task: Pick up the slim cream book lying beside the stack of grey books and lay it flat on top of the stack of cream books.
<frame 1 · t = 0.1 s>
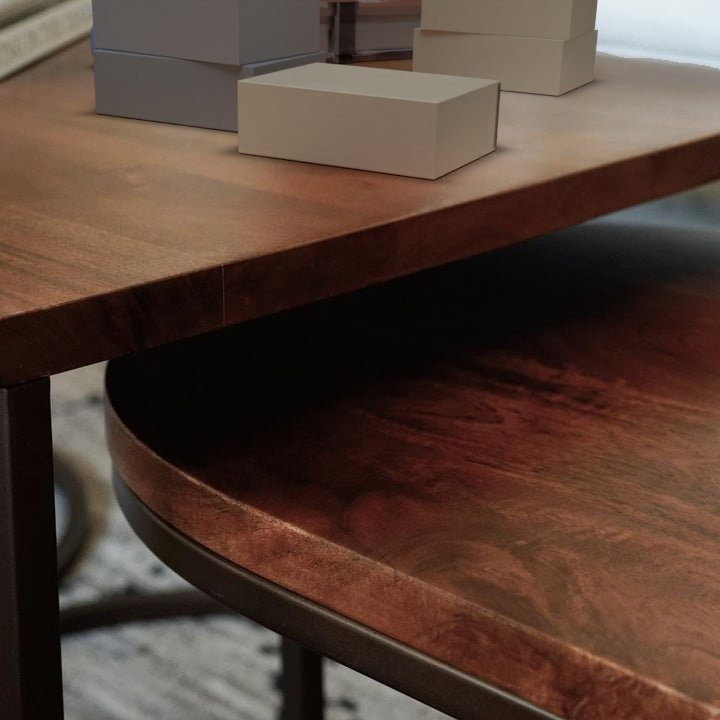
grey stack: (212, 113, 76), on the table
cream book: (369, 151, 67), on the table
cream stack: (503, 81, 93), on the table
decorative dice: (125, 69, 94), on the table
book: (300, 52, 107), on the table
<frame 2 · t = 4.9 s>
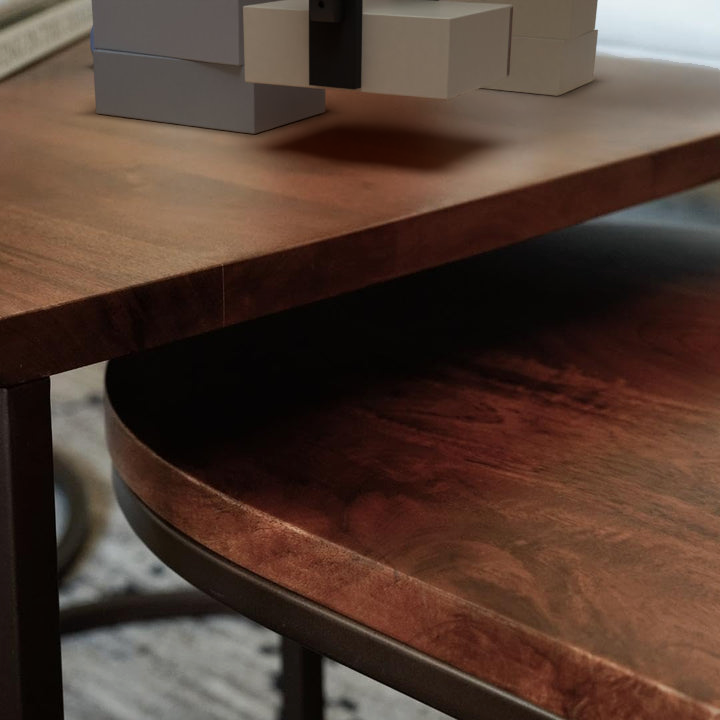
hand: (376, 74, 65), 4 cm above the table, tool pointing down, fingers closed on cream book, 9 cm apart
cream book: (379, 80, 65), point 4 cm above the table, touching gripper
everything else where it was.
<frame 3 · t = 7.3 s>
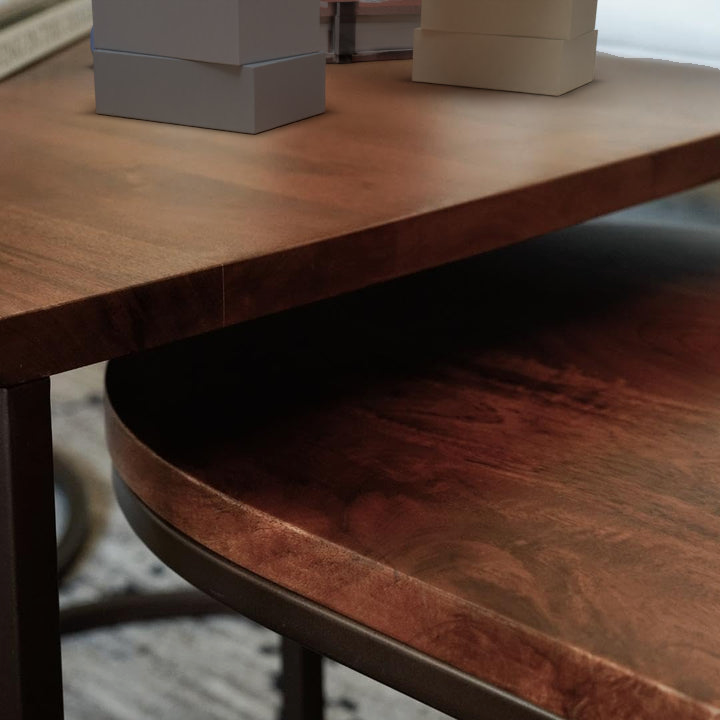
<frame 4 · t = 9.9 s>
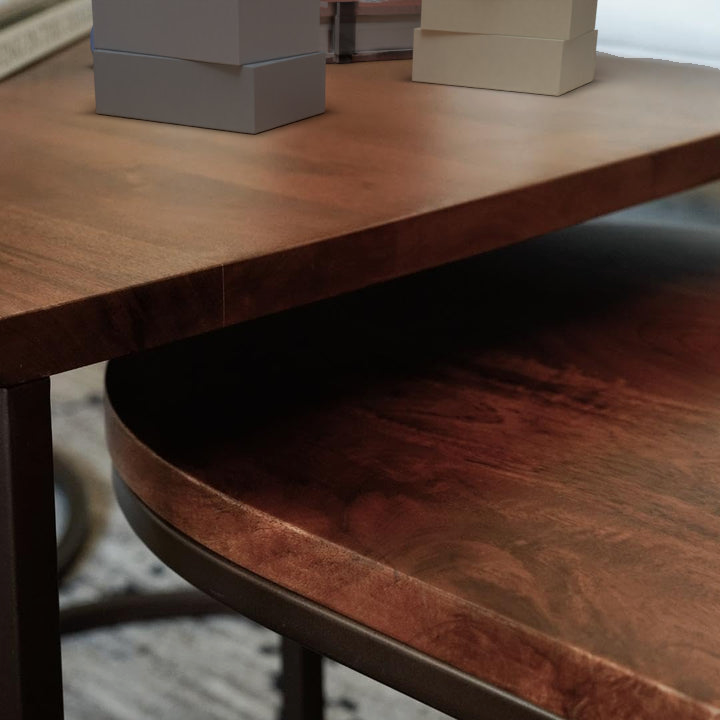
when the fingers open (8 cm above the table, at t = 10.2 s): cream book stays where it is, resting on cream stack.
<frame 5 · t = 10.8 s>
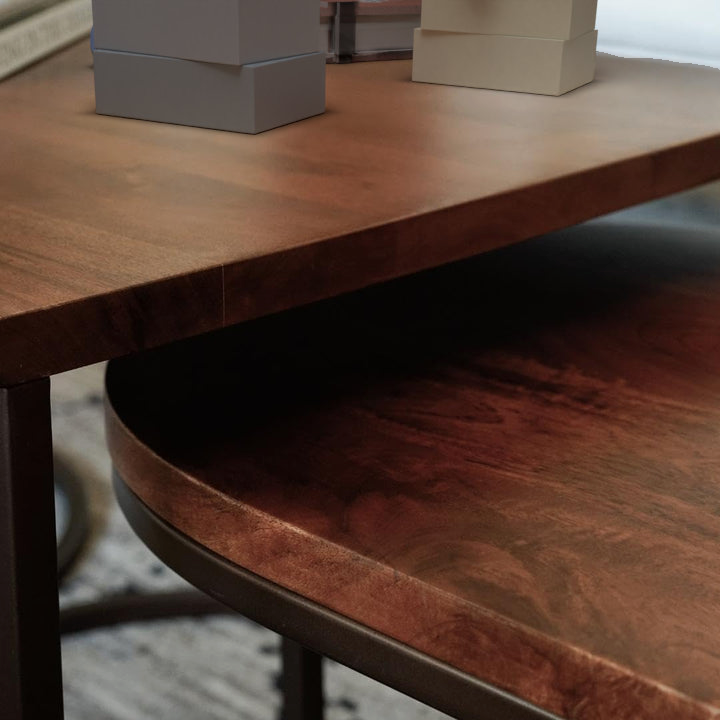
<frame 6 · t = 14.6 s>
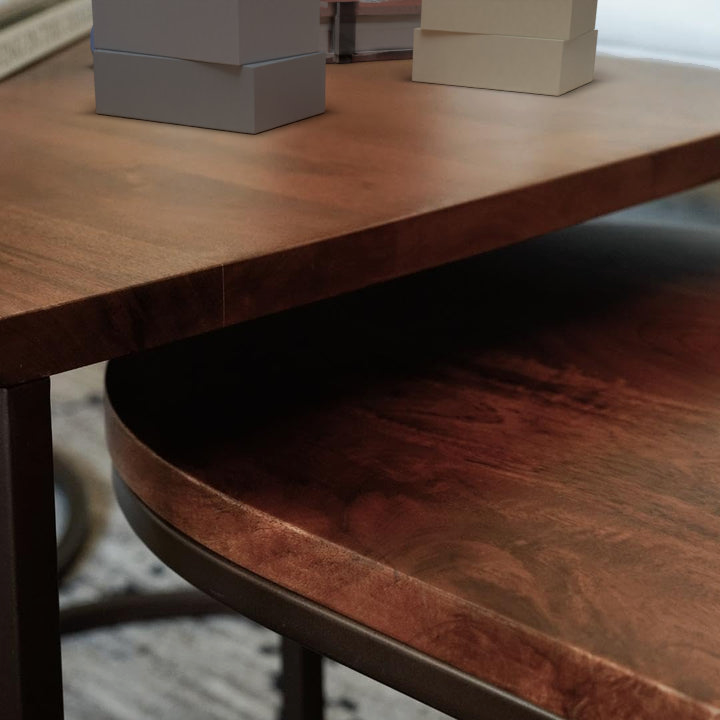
at the end: cream book inside the target area on the cream stack (0.1 cm from its centre), point 8.0 cm above the cream stack's base; cream book tilted 0°; the gripper is holding nothing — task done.
